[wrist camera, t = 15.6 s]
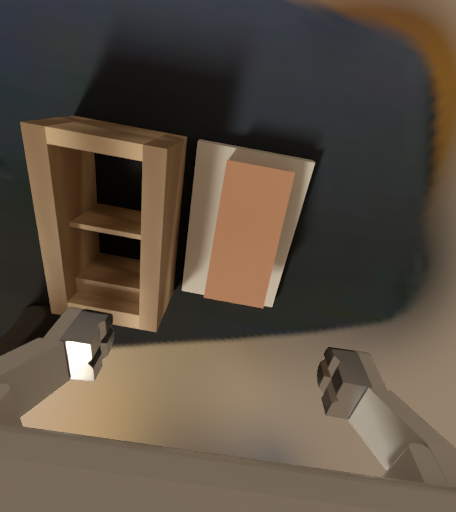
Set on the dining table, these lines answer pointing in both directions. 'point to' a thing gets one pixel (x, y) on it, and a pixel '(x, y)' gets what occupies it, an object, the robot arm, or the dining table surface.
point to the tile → (247, 232)
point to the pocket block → (105, 217)
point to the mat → (208, 199)
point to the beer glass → (28, 327)
